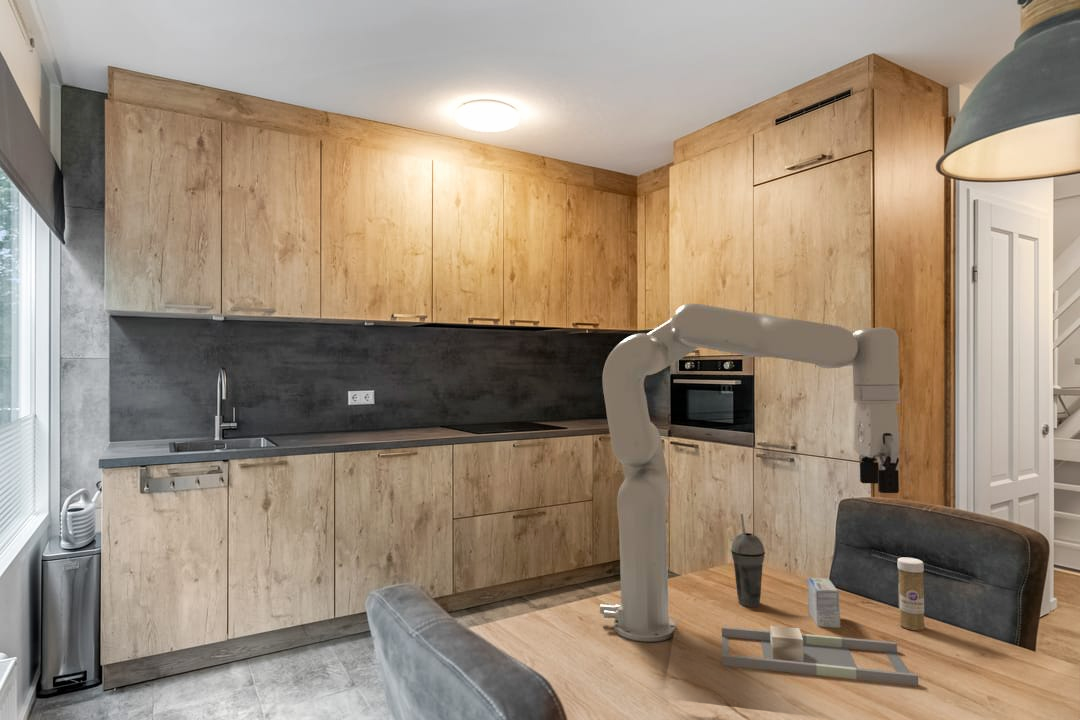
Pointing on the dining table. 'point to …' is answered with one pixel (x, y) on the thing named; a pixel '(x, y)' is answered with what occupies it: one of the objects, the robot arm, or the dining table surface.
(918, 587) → the sprinkles bottle
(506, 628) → the dining table surface
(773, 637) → the cream block
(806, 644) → the track
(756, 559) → the beverage cup
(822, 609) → the medicine box
